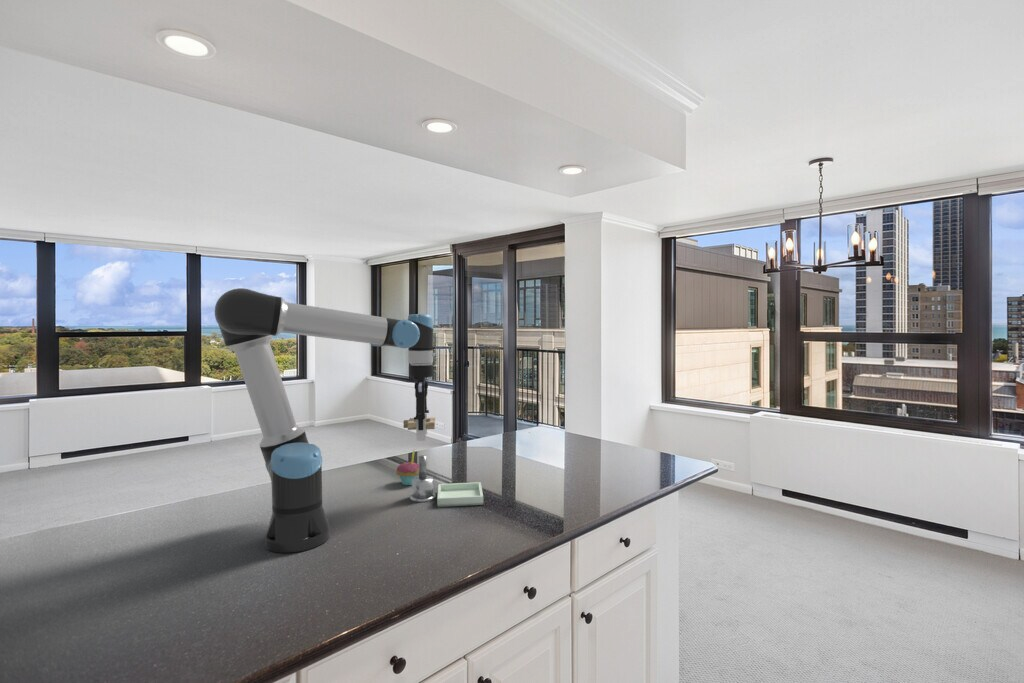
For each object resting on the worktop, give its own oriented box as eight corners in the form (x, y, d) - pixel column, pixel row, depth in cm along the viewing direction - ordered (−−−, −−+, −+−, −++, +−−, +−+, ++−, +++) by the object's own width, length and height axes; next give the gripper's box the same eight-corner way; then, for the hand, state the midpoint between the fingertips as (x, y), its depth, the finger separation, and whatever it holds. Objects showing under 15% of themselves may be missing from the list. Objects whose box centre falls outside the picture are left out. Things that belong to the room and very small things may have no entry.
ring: (434, 429, 153) (434, 422, 153) (402, 430, 152) (402, 423, 152) (435, 423, 161) (435, 417, 161) (405, 424, 160) (404, 418, 160)
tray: (483, 504, 151) (483, 496, 151) (437, 506, 150) (437, 498, 149) (480, 489, 165) (480, 482, 165) (438, 491, 163) (438, 484, 163)
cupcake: (424, 479, 176) (424, 445, 175) (417, 487, 167) (417, 451, 167) (400, 479, 177) (400, 445, 176) (392, 487, 168) (392, 451, 168)
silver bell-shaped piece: (435, 501, 154) (435, 459, 154) (408, 502, 153) (408, 460, 153) (436, 492, 162) (435, 452, 162) (411, 493, 161) (410, 453, 161)
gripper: (432, 366, 146) (432, 444, 147) (434, 361, 167) (435, 429, 168) (405, 367, 145) (406, 445, 146) (411, 361, 166) (412, 430, 167)
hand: (421, 437), depth 157 cm, fingers closed on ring, 8 cm apart
